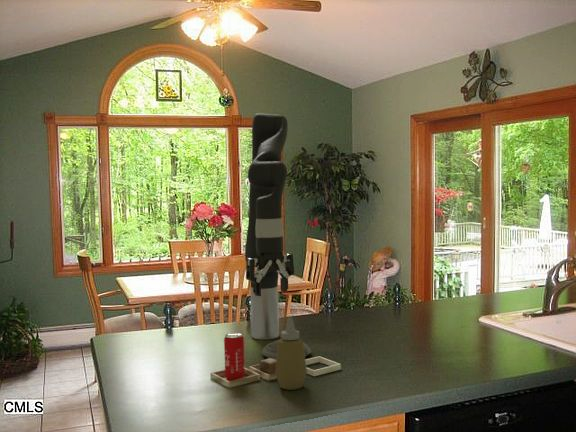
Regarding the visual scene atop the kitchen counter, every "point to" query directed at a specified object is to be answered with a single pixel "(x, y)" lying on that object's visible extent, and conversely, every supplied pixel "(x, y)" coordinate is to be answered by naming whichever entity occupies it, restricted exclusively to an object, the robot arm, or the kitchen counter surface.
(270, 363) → the walnut cube
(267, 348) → the flying saucer
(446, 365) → the kitchen counter surface
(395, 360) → the kitchen counter surface
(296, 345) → the squeeze bottle
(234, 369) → the beverage can
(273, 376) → the square wooden frame
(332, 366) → the pen
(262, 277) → the robot arm
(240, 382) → the pen
